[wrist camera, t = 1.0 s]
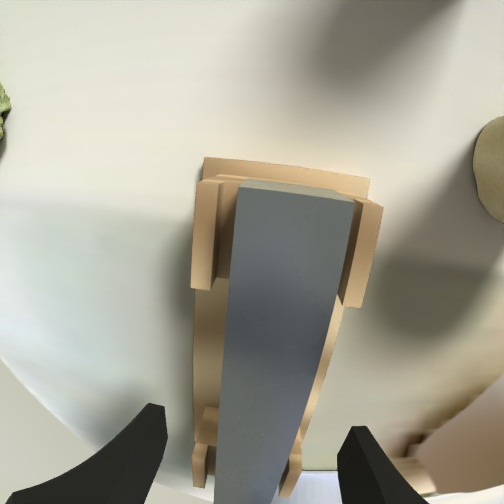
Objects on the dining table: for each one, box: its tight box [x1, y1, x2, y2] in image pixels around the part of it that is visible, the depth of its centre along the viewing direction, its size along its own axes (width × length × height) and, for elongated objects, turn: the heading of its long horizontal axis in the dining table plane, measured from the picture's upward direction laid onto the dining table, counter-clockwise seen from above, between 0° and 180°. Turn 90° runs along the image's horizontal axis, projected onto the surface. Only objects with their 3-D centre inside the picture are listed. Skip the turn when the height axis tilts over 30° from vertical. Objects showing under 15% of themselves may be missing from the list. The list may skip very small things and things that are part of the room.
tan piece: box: [191, 157, 383, 497], centre depth 15 cm, size 19×8×5 cm, turn 174°
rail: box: [214, 178, 355, 504], centre depth 12 cm, size 18×3×3 cm, turn 174°
